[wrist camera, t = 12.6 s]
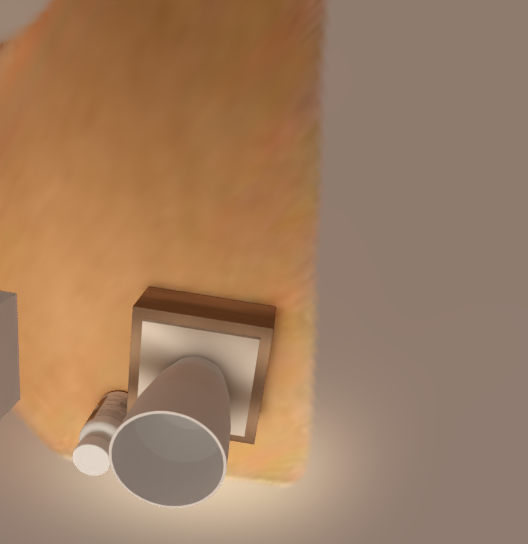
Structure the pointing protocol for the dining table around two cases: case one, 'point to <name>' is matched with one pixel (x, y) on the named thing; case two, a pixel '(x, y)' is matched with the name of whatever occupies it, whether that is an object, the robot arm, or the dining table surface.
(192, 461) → the cup
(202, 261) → the dining table surface
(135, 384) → the pedestal
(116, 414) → the pill bottle
